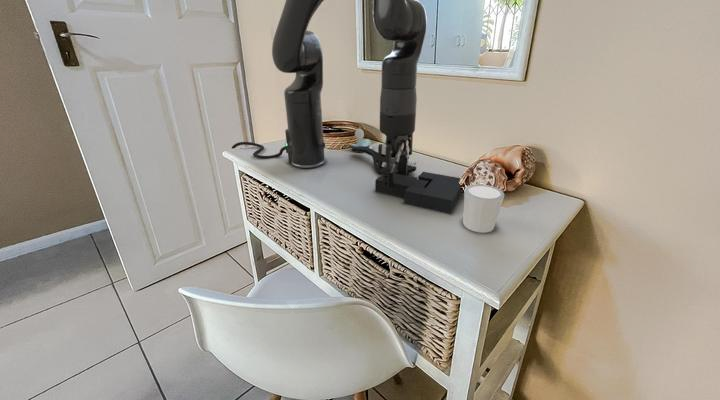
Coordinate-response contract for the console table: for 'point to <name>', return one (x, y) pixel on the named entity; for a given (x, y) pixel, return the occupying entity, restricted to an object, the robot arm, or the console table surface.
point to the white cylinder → (481, 207)
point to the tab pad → (399, 184)
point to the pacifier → (361, 139)
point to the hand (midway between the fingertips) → (395, 181)
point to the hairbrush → (375, 159)
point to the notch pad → (435, 192)
